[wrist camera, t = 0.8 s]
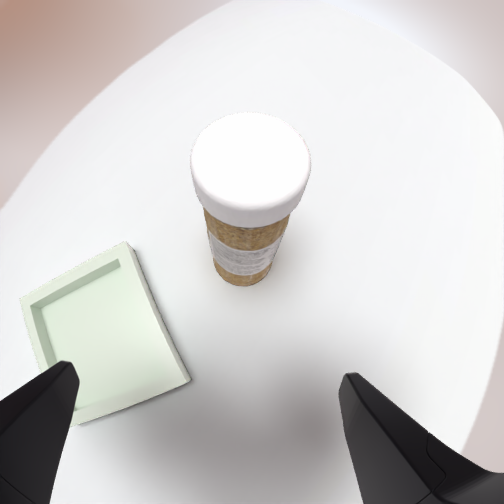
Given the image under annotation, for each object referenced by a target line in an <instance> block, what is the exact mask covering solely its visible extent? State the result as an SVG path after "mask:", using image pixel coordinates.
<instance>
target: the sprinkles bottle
mask: <svg viewBox="0 0 504 504" xmlns="http://www.w3.org/2000/svg"><path fill="white" fill-rule="evenodd" d="M190 167H191V173H192V178H193V183H194V187H195V191H196V194H197V197H198V199H199V201H200V203H201V204H202V206H203V209H204V216H205V220H206V224H207V234H208V238H209V242H210V247H211V251H212V254H213V261H214V265H215V268H216V270H217V272H218V273H219V274H220V276H221V277H222V278H223V279H224V280H225V281H228V282H230V283H231V284H234V285H238V286H248V285H252V284H255V283H257V282H259V281H260V280H261V279H263V278H264V277H265V276H266V275H267V273H268V271H269V269H270V267H271V264H272V260H273V258H274V256H275V254H276V251H277V249H278V247H279V244H280V242H281V239H282V237H283V234H284V232H285V230H286V227H287V224H288V220H289V216H290V213H291V212H292V211H293V210H294V209H295V208H296V206H297V205H298V203H299V202H300V200H301V197H302V195H303V193H304V190H305V188H306V185H307V182H308V179H309V176H310V171H311V157H310V153H309V149H308V147H307V145H306V143H305V141H304V140H303V138H302V137H301V135H300V134H299V133H298V132H297V131H296V130H295V129H294V128H293V127H291V126H290V125H289V124H287V123H286V122H284V121H282V120H280V119H278V118H276V117H273V116H270V115H266V114H261V113H253V112H247V113H237V114H233V115H229V116H226V117H223V118H221V119H219V120H217V121H215V122H213V123H212V124H210V125H209V126H208V127H206V128H205V129H204V130H203V132H202V133H201V134H200V135H199V136H198V138H197V139H196V141H195V143H194V145H193V148H192V151H191V156H190Z"/></svg>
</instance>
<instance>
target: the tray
mask: <svg viewBox="0 0 504 504" xmlns="http://www.w3.org/2000/svg"><path fill="white" fill-rule="evenodd" d="M20 303H21V307H22V312H23V316H24V320H25V324H26V327H27V331H28V335H29V338H30V341H31V345H32V348H33V351H34V354H35V357H36V360H37V363H38V366H39V369H40V372H41V373H43V372H44V371H46V370H47V369H49V368H50V367H52V366H53V365H55V364H56V363H58V362H59V361H61V360H64V361H69V362H72V364H73V365H74V367H75V370H76V372H77V374H78V377H79V380H80V385H79V390H78V394H77V398H76V403H75V407H74V412H73V417H72V421H71V424H70V427H72V426H75V425H78V424H81V423H84V422H87V421H90V420H93V419H96V418H99V417H102V416H105V415H108V414H110V413H113V412H116V411H119V410H121V409H124V408H127V407H129V406H132V405H135V404H137V403H140V402H142V401H145V400H147V399H150V398H152V397H155V396H157V395H160V394H162V393H164V392H167V391H169V390H172V389H174V388H176V387H179V386H181V385H183V384H185V383H187V382H189V381H190V380H192V379H191V377H190V375H189V373H188V371H187V369H186V367H185V366H184V364H183V362H182V359H181V357H180V355H179V353H178V351H177V349H176V347H175V345H174V343H173V341H172V339H171V337H170V334H169V332H168V330H167V328H166V326H165V324H164V321H163V319H162V317H161V315H160V312H159V310H158V308H157V305H156V303H155V301H154V298H153V296H152V294H151V291H150V289H149V286H148V284H147V282H146V279H145V277H144V274H143V271H142V269H141V266H140V264H139V261H138V259H137V256H136V253H135V251H134V249H133V248H132V247H131V246H130V245H129V244H128V243H127V242H126V241H124V242H122V243H120V244H118V245H116V246H114V247H112V248H111V249H109V250H107V251H105V252H103V253H101V254H99V255H97V256H95V257H93V258H91V259H89V260H88V261H86V262H84V263H82V264H80V265H78V266H76V267H75V268H73V269H71V270H69V271H67V272H65V273H64V274H62V275H60V276H58V277H56V278H55V279H53V280H51V281H49V282H48V283H46V284H44V285H42V286H41V287H39V288H37V289H35V290H34V291H32V292H30V293H29V294H27V295H25V296H23V297H22V298H20Z"/></svg>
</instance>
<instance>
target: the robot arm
mask: <svg viewBox="0 0 504 504" xmlns="http://www.w3.org/2000/svg"><path fill="white" fill-rule="evenodd" d="M79 385H80V380H79V377H78V374H77V372H76V370H75V367H74V365H73V364H72V362H69V361H64V360H61V361H59V362H58V363H56V364H55V365H53V366H52V367H50V368H49V369H47V370H46V371H44V372H43V373H41V374H40V375H38V376H37V377H35V378H34V379H32V380H31V381H29V382H28V383H26V384H25V385H23V386H22V387H20V388H19V389H17V390H16V391H14V392H13V393H11V394H10V395H8V396H7V397H5V398H4V399H3V400H1V401H0V504H49V503H50V499H51V494H52V490H53V485H54V481H55V477H56V473H57V469H58V465H59V461H60V458H61V454H62V451H63V447H64V444H65V440H66V437H67V434H68V431H69V427H70V424H71V421H72V417H73V412H74V407H75V403H76V398H77V394H78V390H79ZM339 401H340V407H341V413H342V419H343V426H344V432H345V437H346V441H347V444H348V448H349V451H350V455H351V459H352V462H353V466H354V470H355V473H356V477H357V481H358V485H359V488H360V492H361V496H362V500H363V504H504V473H495V472H490V471H488V470H485V469H483V468H481V467H480V466H478V465H476V464H475V463H473V462H471V461H470V460H468V459H466V458H465V457H463V456H462V455H460V454H458V453H457V452H455V451H454V450H452V449H451V448H449V447H448V446H446V445H445V444H444V443H442V442H441V441H440V440H439V439H437V438H436V437H435V436H433V435H432V434H431V433H428V431H427V430H426V429H425V428H423V427H422V426H421V425H420V424H419V423H417V422H416V421H415V420H414V419H412V418H411V417H410V416H409V415H408V414H406V413H405V412H404V411H403V410H402V409H400V408H399V407H398V406H397V405H396V404H394V403H393V402H392V401H391V400H390V399H388V398H387V397H386V396H385V395H384V394H382V393H381V392H380V391H379V390H378V389H376V388H375V387H374V386H373V385H372V384H370V383H369V382H368V381H367V380H366V379H365V378H363V377H362V376H361V375H360V374H359V373H356V372H354V373H346V374H345V375H344V377H343V380H342V383H341V386H340V389H339Z"/></svg>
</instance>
